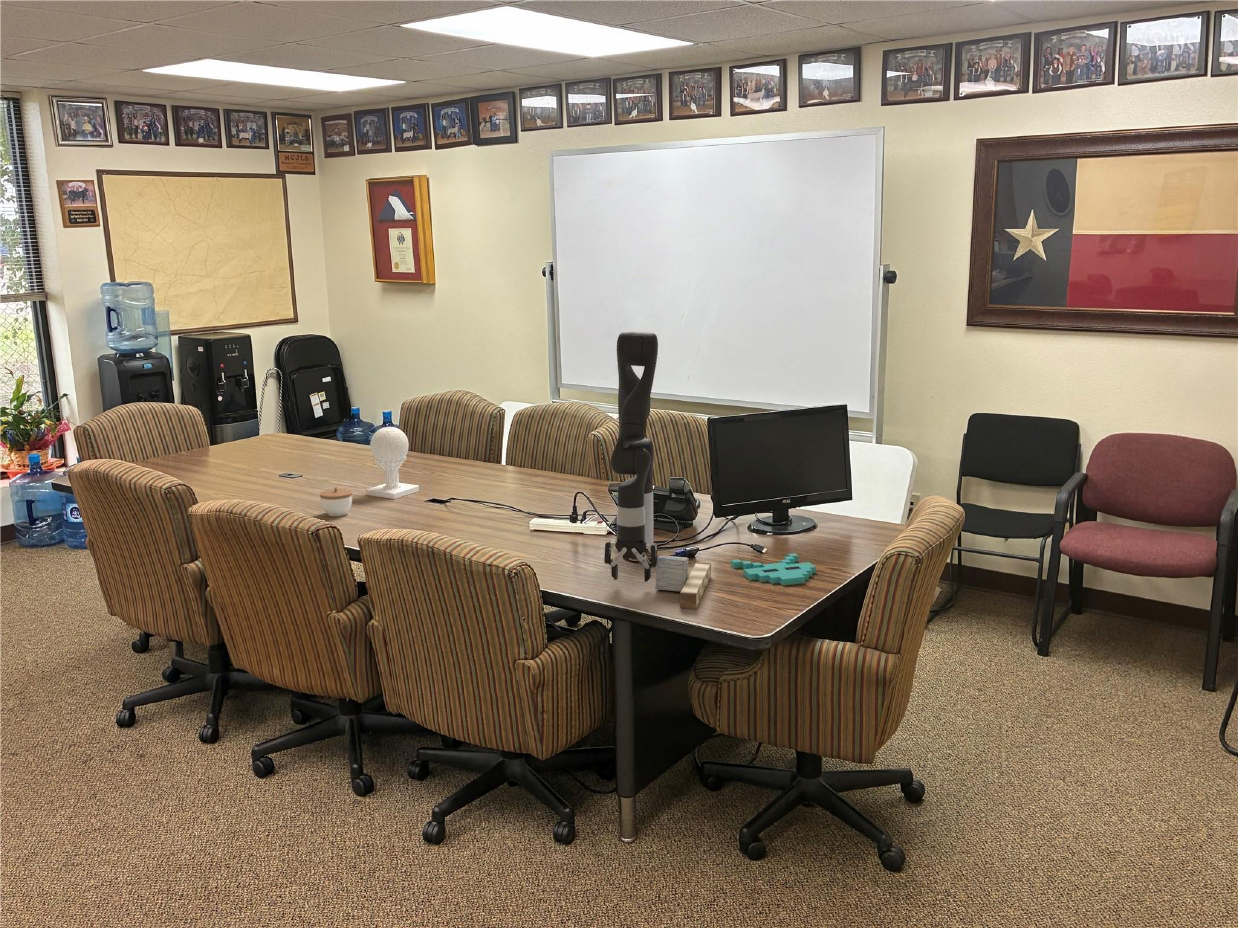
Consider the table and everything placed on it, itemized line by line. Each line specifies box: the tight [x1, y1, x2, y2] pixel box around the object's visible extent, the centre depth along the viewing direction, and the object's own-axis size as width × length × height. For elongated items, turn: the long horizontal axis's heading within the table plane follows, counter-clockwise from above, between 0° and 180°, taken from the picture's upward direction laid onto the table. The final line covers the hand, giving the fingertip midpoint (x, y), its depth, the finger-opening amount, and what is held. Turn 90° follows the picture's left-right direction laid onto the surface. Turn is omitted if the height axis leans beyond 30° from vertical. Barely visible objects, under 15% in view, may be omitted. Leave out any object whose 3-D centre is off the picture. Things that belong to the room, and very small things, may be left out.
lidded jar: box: [319, 487, 353, 517], centre depth 359 cm, size 11×11×9 cm
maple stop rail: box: [679, 561, 712, 610], centre depth 278 cm, size 26×4×4 cm, turn 167°
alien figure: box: [730, 552, 817, 587], centre depth 293 cm, size 20×2×20 cm
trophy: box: [365, 426, 420, 500], centre depth 385 cm, size 14×14×25 cm
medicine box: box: [655, 555, 689, 593], centre depth 279 cm, size 8×4×9 cm, turn 72°
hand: (631, 579), depth 281 cm, fingers open, 8 cm apart
